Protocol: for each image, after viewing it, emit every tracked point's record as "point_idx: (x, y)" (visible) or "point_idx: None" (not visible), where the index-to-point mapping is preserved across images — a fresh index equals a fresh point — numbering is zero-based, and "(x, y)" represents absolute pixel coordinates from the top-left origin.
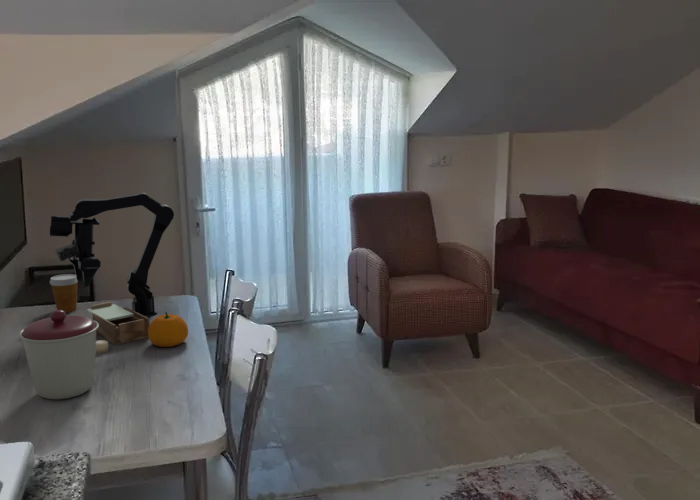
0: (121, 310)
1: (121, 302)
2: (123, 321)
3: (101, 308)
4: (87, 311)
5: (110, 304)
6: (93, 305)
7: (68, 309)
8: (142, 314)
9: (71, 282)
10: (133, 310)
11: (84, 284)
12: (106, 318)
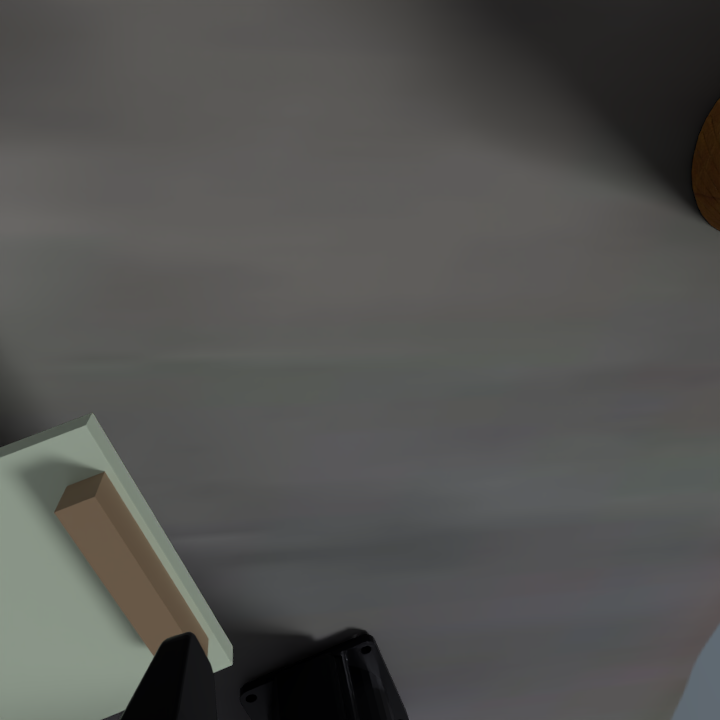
0: None
1: (702, 544)
2: None
3: (79, 573)
4: (79, 417)
5: None
6: (85, 523)
7: (708, 169)
8: (269, 711)
9: None
10: (312, 686)
11: (137, 692)
12: None
